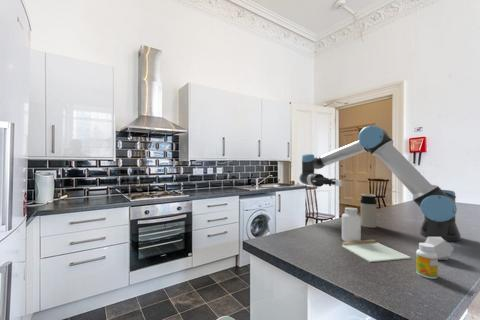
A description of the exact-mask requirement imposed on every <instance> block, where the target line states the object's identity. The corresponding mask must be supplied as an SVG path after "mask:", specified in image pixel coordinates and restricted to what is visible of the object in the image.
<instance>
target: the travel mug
mask: <svg viewBox="0 0 480 320" xmlns="http://www.w3.org/2000/svg"><path fill="white" fill-rule="evenodd" d="M360 196H361V199H360V218H361V227H364V228H368V229H374V228H377V221H378V220H377V217H378V216H377V212H378V211H377V203H378V202H377V199H376V197H377V195H376V194H371V193H361V194H360Z"/></svg>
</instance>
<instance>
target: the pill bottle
mask: <svg viewBox="0 0 480 320" xmlns="http://www.w3.org/2000/svg"><path fill="white" fill-rule="evenodd" d="M358 209H359V208H357V207H356V208H355V207H349V206H347V207H346V206H345V207H344V213H342V215H341V240H342V242H347V241H362V237H361V235H362V234H361V231H362V230H361V227H362V226H361V215H359V214H358Z"/></svg>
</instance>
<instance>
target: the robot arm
mask: <svg viewBox="0 0 480 320" xmlns="http://www.w3.org/2000/svg"><path fill="white" fill-rule="evenodd" d="M357 137H358V138H357V139H358V140H356V141H353V142H351V143H349V144H346V145H343V146H341V147H339V148H336V149H333V150H331V151H329V152H327V153H324V154H322V155H319V156H316V157H315V155H314V154H312V153H311V154H308V153H307V154H302V157H301V158H302V159H301V173H300V174H299V182H300V183H301V184H304V185H307V186H312V187H313V188H314V187H319V188H320V187H322V186H323V185H326V186H327V185H328V186H329V187H332V186H335V187H343V180H341V179H336V178H329V177H325V176H324V175H323V174H321V173H315V170H320V169H322V168H324V167H326V166H329V165H331V164H334V163H337V162H341V161H342V160H345V159H348V158H351V157H353V156H356V155H359V154H361V153H364V152H365V153H370V154H371V156H375V157H378V158H379V159H380V160H381V162H382V163H383V164H384V165H385V166H386V167H387V168H388V170H390V171H391V173H392V174H393V175H394V176H395V177H396V178H397V179H398V180H399V181H400V182H401V184H403V185H404V186H405V188H406V189H407V190H408V191H409V192H410V194H412V200H413V202H414V203H415V204H416V205H417V206H418V207H419V209H420V210H421V213H422V214H423V215H424V216H423V222H422V223H421V226H420V228H419V234H420V235H422V236H424V237H426V238H427V237H442V238H443V239H444V240H445V241H446V242H460V241H462V239H461V237H462V236H461V235H462V234H461V233H460V231H459V228H458V226H457V224H456V223H457V221H456V213H457V205H456V198H457V195H456V192H455V191H454V190H449V189H448V190H447V189H442V188H441V187H440V186H438V185H435V184H432V183H430V181H428V180H427V179H426V177H424V176H423V174H422V173H420V171H419V170H417V168H415V166H414V165H413V164H412V163H411V162H410V161H409V160H408V159H407V158H406V157H405V156H404V155H403V154H402V152H400V151H399V150H398V149H397V148H396V147H395V146H394V140H393V139H392V138H391V137H390V136H389V134H388V132H387V131H386V130H385V129H383V128H381V127H380V126H378V125H367V126H365V127H362V129H361V130H360V131H359V132H358V136H357Z"/></svg>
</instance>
